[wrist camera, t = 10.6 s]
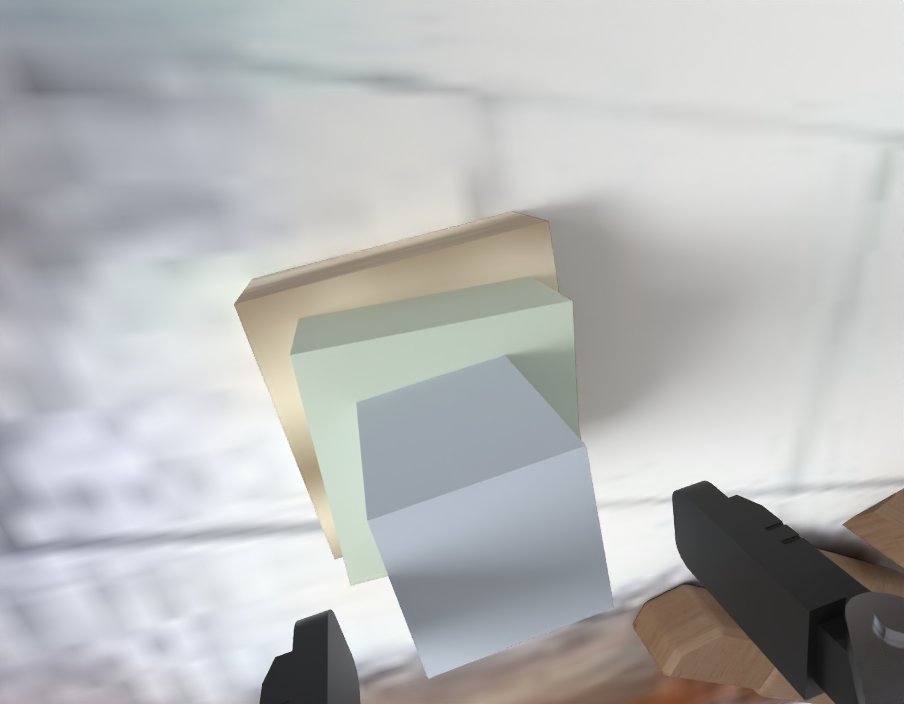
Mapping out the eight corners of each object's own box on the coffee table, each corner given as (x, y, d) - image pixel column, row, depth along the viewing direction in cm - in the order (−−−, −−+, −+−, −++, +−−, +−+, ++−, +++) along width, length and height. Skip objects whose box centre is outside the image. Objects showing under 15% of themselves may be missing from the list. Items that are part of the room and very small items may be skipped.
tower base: (253, 276, 23) (234, 304, 19) (508, 210, 25) (548, 221, 20) (334, 493, 28) (334, 559, 23) (546, 427, 29) (586, 476, 25)
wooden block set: (875, 727, 36) (671, 701, 30) (806, 655, 41) (622, 622, 36) (1034, 525, 32) (833, 452, 26) (936, 474, 37) (751, 404, 32)
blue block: (356, 402, 17) (366, 521, 11) (504, 354, 17) (585, 445, 12) (399, 524, 18) (428, 678, 13) (532, 478, 19) (613, 607, 13)
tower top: (298, 318, 19) (289, 355, 16) (530, 276, 21) (572, 300, 17) (347, 516, 23) (350, 585, 19) (545, 469, 24) (583, 524, 20)
